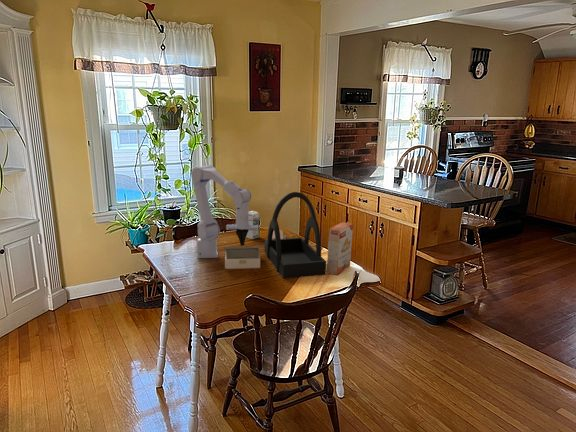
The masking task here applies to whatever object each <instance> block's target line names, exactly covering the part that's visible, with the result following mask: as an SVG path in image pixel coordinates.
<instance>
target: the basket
mask: <svg viewBox="0 0 576 432" xmlns="http://www.w3.org/2000/svg"><path fill="white" fill-rule="evenodd" d="M294 198H298V199H301V200H302V201H304V203H305V204H306V206H307V208H308V210H309V214H310V217H308V219H307V221H306V225H305V230H304V231H305V232H304V238H303V237H290V238H289V237H288V238H286V239H280V231H279V230H280V227H279V222H278V217H279V215H280V212H281V210H282V208H283V207H284V205H285V204H286V203H287V202H288V201H290V200H292V199H294ZM311 229H313V233H314V237H315V249H316V250H315V249H314V248H313V247H312V246H311V245H310V244H309V241H310V234H311ZM273 231H274V232H275V239H274V240H272V235H273ZM264 253H265V255H266V258H267V259H268V260H270V262H271V263H272V265H273V266H274V267H275V269H276V273H278V274H279V275H280V276H281V277H282V279H283V280H285V279H295V278H296V279H297V278H305V277H306V278H307V277H315V276H324V275H325V276H326V273H327V260H326V259H325V258H323V257H322V240H321V232H320V227H319V223H318V221H317V217H316V212H315V208H314V207H313V204H312V202H311V200H310V199H309V197H308V196H306V195H305V194H304V193H302V192H298V191H292V192H288V193H287V194H285V195H283V197H282V198H281V199H280V200H279V202H278V203H277V204H276V206H275V208H274V211H273V214H272V217H271V220H270V222H269V226H268V230H267V239H265V240H264Z"/></svg>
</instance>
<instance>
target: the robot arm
mask: <svg viewBox="0 0 576 432" xmlns="http://www.w3.org/2000/svg"><path fill="white" fill-rule="evenodd" d="M190 174H191V179H192V185H193V189H194V195H195V199H196V204H197V208H198V213H199V218H200V221H199V222H198V223H197V235H198V238H197V240H196V241H197V242H196V246H197V247H196V248H197V249H196V253H197V259H211V258H212V259H217V258H218V255H219V254H218V253H219V251H217V250H218V247H217V246H218V245H217V243H218V242H217V238H218V235H219V234H220V233H221V229H220V226H219V224H218V221H217V220H216V218H213V216H212V211H211V206H210V201H209V197H208V193H207V188H206V186H207V185H208V183H209V182H210V181H211V180H212V181H213V182H215V183H216V184H218V185H219V186H221V187H222V188H223V189H222V190H223V192H225V193H226V194H227V195H228V196H230V197H232V200H233V202H234V206H235V223H233V224H226V225H225V229H226V231H227V230H228V231H229V230H235V234H236V236H237V238H238V240H239V244H240V245H239V246H241V247H245V242H246V239H247V238H246V236H247V233H248V231H249V230H253V231H258V226H254V225H249V212H250V209H249V207H250V205H249V203H250V201H251V200H252V194H251V193H252V192H251V191H250V190H249V189H248V188H242V187H241V186H239V185H238V184H236V183H235V181H234V180H227V179H226V178H225V177H224V176H223V175H222V174H220V173H219V172H218V171H217V168H216V167H215V166H213V165H211V164H208V165H204V166H203V165H202V166H195V167H193V169H192V170H191V173H190Z"/></svg>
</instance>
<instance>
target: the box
mask: <svg viewBox="0 0 576 432" xmlns="http://www.w3.org/2000/svg"><path fill="white" fill-rule="evenodd" d="M224 250H225V252H224V253H225V254H224V269H227V270H230V269H231V270H232V269H233V270H234V269H260V268H261V256H260V255H261V254H260V249H224Z"/></svg>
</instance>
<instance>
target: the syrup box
mask: <svg viewBox="0 0 576 432" xmlns="http://www.w3.org/2000/svg"><path fill="white" fill-rule="evenodd" d="M249 225H254V226H258V231H253V230H249V231H248V233H247V236H246V239H250V240H254V239H257V238H260V211H259V212H258V211H255V210H251V211H250V210H249Z"/></svg>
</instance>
